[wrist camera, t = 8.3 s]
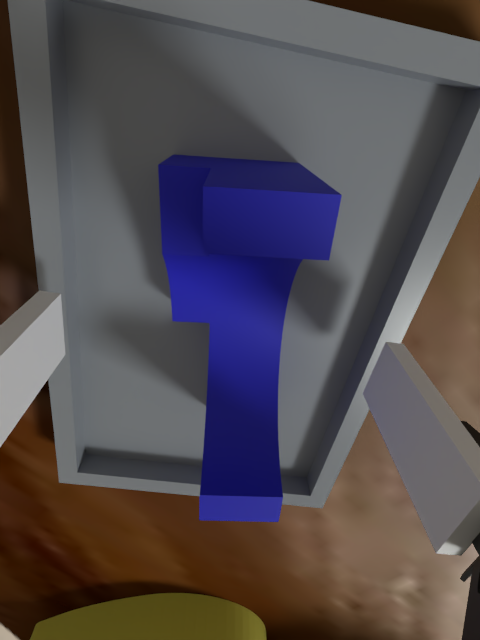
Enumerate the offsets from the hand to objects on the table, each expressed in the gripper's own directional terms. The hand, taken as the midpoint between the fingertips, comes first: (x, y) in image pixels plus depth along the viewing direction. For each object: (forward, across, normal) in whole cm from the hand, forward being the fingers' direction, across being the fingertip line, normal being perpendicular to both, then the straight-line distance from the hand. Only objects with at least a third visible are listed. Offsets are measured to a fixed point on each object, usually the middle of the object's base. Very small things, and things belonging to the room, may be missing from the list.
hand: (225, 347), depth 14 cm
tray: (+3, 0, 0) cm, 3 cm away
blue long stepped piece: (+2, 0, -1) cm, 3 cm away
